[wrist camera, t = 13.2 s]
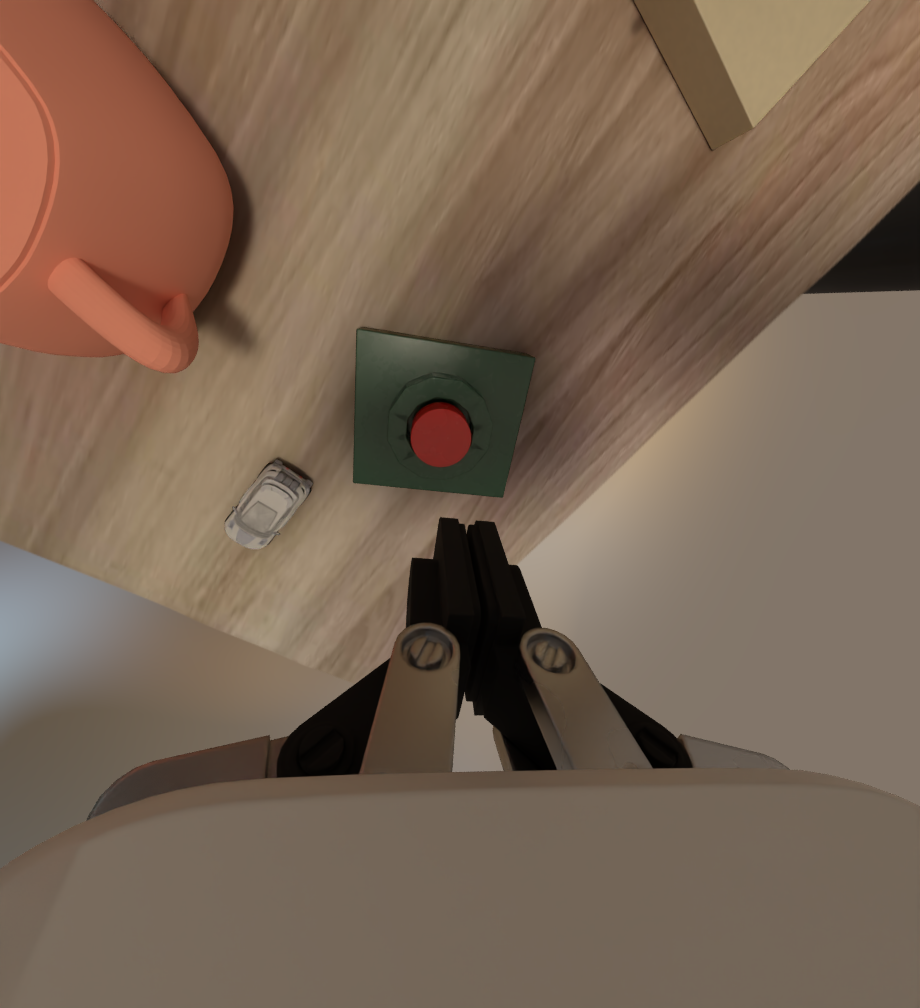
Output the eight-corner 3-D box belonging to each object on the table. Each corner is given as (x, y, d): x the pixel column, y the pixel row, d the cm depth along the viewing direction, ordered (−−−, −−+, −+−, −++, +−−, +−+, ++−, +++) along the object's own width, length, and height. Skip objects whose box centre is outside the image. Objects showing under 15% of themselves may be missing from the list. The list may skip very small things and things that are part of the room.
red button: (472, 405, 23) (476, 413, 21) (463, 460, 24) (466, 470, 23) (414, 397, 22) (413, 404, 21) (408, 453, 24) (407, 464, 22)
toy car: (222, 524, 29) (202, 546, 26) (275, 451, 27) (259, 467, 24) (265, 548, 30) (250, 571, 28) (320, 481, 28) (309, 499, 25)
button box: (527, 353, 25) (544, 361, 21) (497, 485, 30) (507, 509, 26) (361, 326, 23) (351, 330, 20) (357, 470, 28) (348, 494, 24)
